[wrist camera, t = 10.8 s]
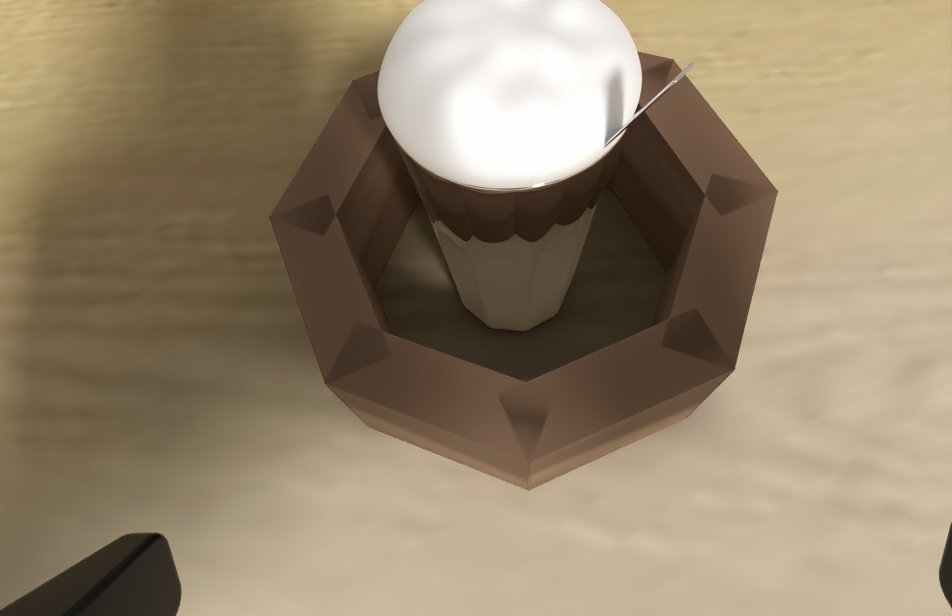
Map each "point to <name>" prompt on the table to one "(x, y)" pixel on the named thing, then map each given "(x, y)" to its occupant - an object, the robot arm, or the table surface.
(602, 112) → the milkshake
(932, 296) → the table surface
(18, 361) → the table surface
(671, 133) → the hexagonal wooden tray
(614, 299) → the table surface
